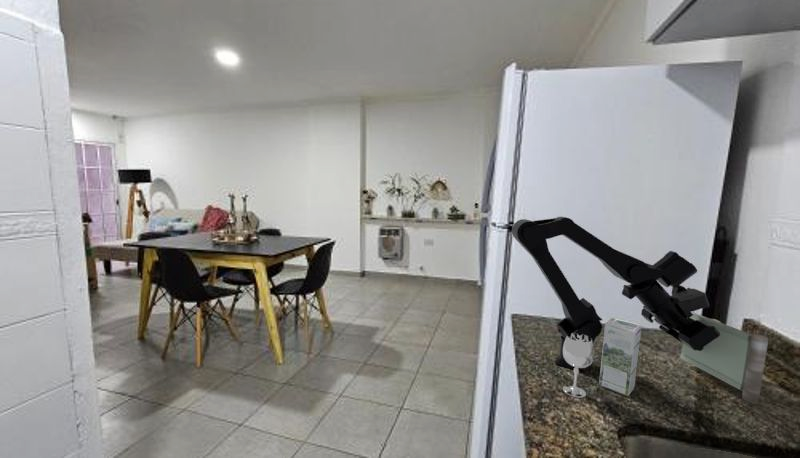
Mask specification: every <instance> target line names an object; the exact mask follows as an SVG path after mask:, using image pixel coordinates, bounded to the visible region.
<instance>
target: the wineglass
mask: <svg viewBox="0 0 800 458" xmlns="http://www.w3.org/2000/svg"><path fill="white" fill-rule="evenodd" d="M594 354H595V352H594V342H593V343H592V339H591V338H590V337H588V336H586V335H583V334H579V333H569V334H567V336H566V339H565V342H564V345H563V357H564V359H565V361H566V362H567V363H568V364H570V365H571V366H573V367H575V368H574V369H572V370H573V375H574V379H573V385H570V384H566V385H564V386H563V387H562V390H563V392H564V393H565V394H567V395H569V396H570V397H574V398H580V399H581V398H585V397H586V396H587V393H586V391H585V390H584V389H583V388H581V387H579V386H577V381H578V380H577V379H578V376H579V373H580V371H579V369H578V368H587V367H589V366H591V364H592V363H593V362H594V361H593V360H594V356H595V355H594Z"/></svg>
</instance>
